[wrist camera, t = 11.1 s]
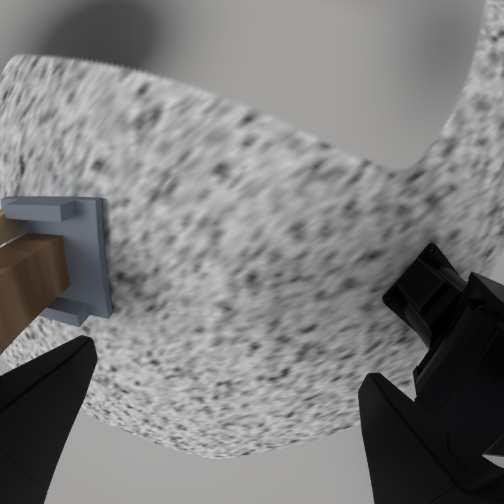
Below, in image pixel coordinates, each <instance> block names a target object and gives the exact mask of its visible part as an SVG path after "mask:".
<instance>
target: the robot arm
mask: <svg viewBox="0 0 504 504" xmlns="http://www.w3.org/2000/svg"><path fill="white" fill-rule="evenodd" d="M432 248H433V250H432V251H431V249H432ZM468 279H469V281H468V283H467V282H466V281H464V280H463V279H462V278H461V277H460V276H459V275H458V273H457V272H456V271H455V269H454V268H453V267H452V265H451V264H450V262H449V261H448V260H447V258H446V257H445V256H444V254H443V253H442V252H441V251H440V249H439V248H438V247H437V246H436V245H435V244H434V243H430V244H429V245H428V246H427V247H426V248H425V249H424V250H423V252H422V253H421V254H420V255H419V256H418V258H417V259H416V260H415V261H414V262H413V264H412V265H411V266H410V267H409V268H408V269H407V270H406V272H405V273H404V274H403V275H402V276H401V277H400V278H399V279H398V280H397V282H396V283H395V284H394V285H393V286H392V287H391V288H390V289H389V290H388V291H387V292H386V293H385V295H384V296H383V298H382V300H383V302H384V303H385V305H386V306H388V307H389V308H390V309H391V310H392V311H393V312H394V313H395V314H397V315H398V316H399V317H400V318H401V319H402V320H403V321H405V322H406V323H407V324H408V325H409V326H410V327H411V328H412V329H413V330H415V331H416V332H417V333H418V335H419V336H420V338H421V339H422V340H423V342H424V343H425V345H426V346H427V348H428V349H429V351H428V352H427V354H426V355H425V357H424V358H423V360H422V361H421V363H420V364H419V366H416V368H415V369H414V371H413V377H414V383H415V389H416V396H417V397H416V398H415V402H413V401H412V400H411V399H410V398H409V397H407V396H406V395H405V394H404V393H403V392H402V391H401V390H399V389H398V388H397V387H396V386H395V385H393V384H392V383H391V382H390V381H389V380H388V379H386V378H385V377H384V376H383V375H382V374H380V373H368V374H367V375H366V377H365V379H364V381H363V383H362V385H361V387H360V388H359V391H358V400H359V409H360V419H361V429H362V436H363V441H364V446H365V451H366V456H367V462H368V467H369V473H370V479H371V484H372V491H373V497H374V503H375V504H504V468H502V467H499V466H497V465H495V464H494V463H492V462H491V461H489V460H488V459H486V458H484V457H483V456H482V455H490V456H499V457H504V286H503V285H502V284H500V283H497V282H495V281H493V280H491V279H488V278H486V277H484V276H481V275H479V274H477V273H474V272H472V271H471V273H470V275H469V278H468ZM388 298H390V299H389V300H387V299H388ZM96 364H97V353H96V349H95V345H94V341H93V339H92V338H91V337H87V336H84V335H81V336H78V337H76V338H75V339H73V340H71V341H69V342H67V343H65V344H63V345H61V346H59V347H57V348H55V349H53V350H51V351H49V352H47V353H45V354H43V355H41V356H39V357H37V358H35V359H33V360H31V361H29V362H27V363H25V364H23V365H21V366H19V367H17V368H15V369H13V370H11V371H9V372H7V373H5V374H3V376H2V375H1V376H0V504H44V501H45V498H46V495H47V491H48V489H49V486H50V483H51V480H52V477H53V474H54V471H55V469H56V465H57V463H58V461H59V458H60V455H61V452H62V450H63V448H64V445H65V443H66V440H67V438H68V435H69V433H70V431H71V428H72V426H73V423H74V421H75V419H76V417H77V414H78V412H79V410H80V408H81V405H82V403H83V401H84V398H85V396H86V393H87V390H88V387H89V384H90V381H91V378H92V375H93V372H94V369H95V366H96Z"/></svg>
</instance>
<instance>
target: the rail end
mask: <svg viewBox="0 0 504 504" xmlns="http://www.w3.org/2000/svg"><path fill="white" fill-rule="evenodd" d="M70 285H71V283H70V278H69V273H68V268H67V262H66V256H65V250H64V243H63V235H53V234H39V233H26V234H25V235H23V236H21V237H19V238H17V239H15V240H13V241H12V242H10V243H8V244H6V245H4V246H3V247H1V248H0V355H1V354H2V353H3V351H4V350H5V349H6V348H7V347H8V346H9V345H10V344H11V343H12V342H13V341H14V340H15V339H16V337H17V336H18V335H19V334H20V333H21V332H22V331H23V330H24V329H25V328H26V327H27V326H28V325H29V324H30V323H31V322H32V321H33V320H34V319H35V318H36V317H37V316H38V315H39V314H40V313H41V312H42V311H43V310H44V309H45V308H46V307H47V306H48V305H50V304H51V303H52V302H53V301H54V300H55V299H56V298H57V297H58V296H59V295H60V294H61V293H62V292H63V291H65V290H66V289H67V288H68V287H69V286H70Z"/></svg>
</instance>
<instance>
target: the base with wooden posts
mask: <svg viewBox="0 0 504 504" xmlns="http://www.w3.org/2000/svg"><path fill="white" fill-rule="evenodd" d="M1 204H2V209H1V210H0V245H2V244H4V243H5V242H7V244H8V243H10V242H12V241H13V240H15V239H17V238H19V237H21V236H23V235H25V234H26V233H39V234H53V235H63V243H64V250H65V256H66V262H67V268H68V273H69V278H70V283H71V285H70V286H69V287H68V288H67V289H66V290H65V291H63V292H62V293H61V294H60V295H59V296H58V297H57V298H56V299H55V300H54V301H53V302H52V303H51V304H50V305H48V306H47V307H46V308H45V309H44V310H43V311H42V312H41V313H40V314H39V316H42V317H45V318H49V319H52V320H56V321H59V322H63V323H66V324H70V325H74V326H78V327H80V326H81V325H82V324H83V323H84V321H85V320H86V319H87V318H88V317H89V315H94V316H98V317H103V318H108V319H109V318H110V316H111V315H112V314H113V308H112V302H111V295H110V289H109V281H108V273H107V264H106V254H105V243H104V229H103V210H102V198H92V197H6V198H3V199H1Z"/></svg>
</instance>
